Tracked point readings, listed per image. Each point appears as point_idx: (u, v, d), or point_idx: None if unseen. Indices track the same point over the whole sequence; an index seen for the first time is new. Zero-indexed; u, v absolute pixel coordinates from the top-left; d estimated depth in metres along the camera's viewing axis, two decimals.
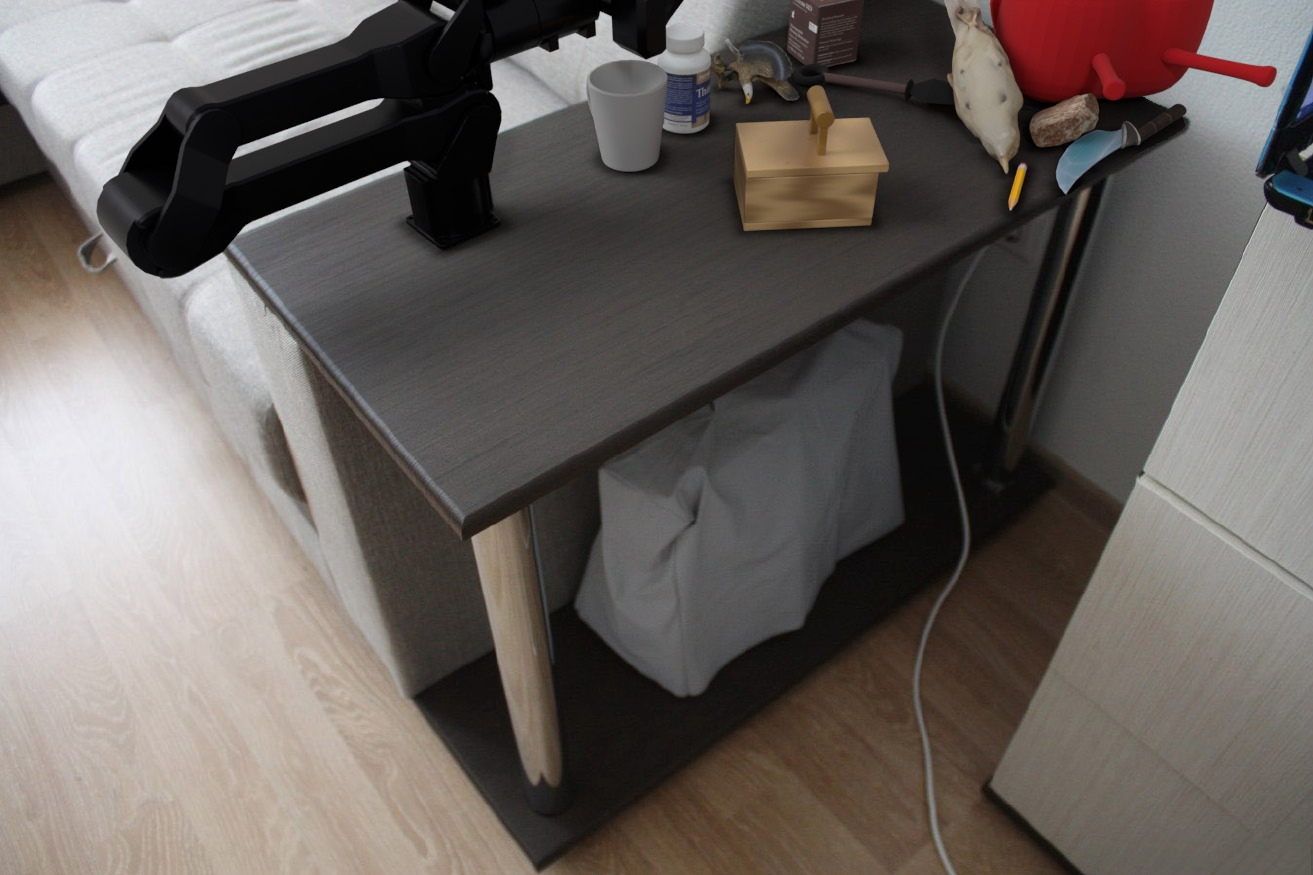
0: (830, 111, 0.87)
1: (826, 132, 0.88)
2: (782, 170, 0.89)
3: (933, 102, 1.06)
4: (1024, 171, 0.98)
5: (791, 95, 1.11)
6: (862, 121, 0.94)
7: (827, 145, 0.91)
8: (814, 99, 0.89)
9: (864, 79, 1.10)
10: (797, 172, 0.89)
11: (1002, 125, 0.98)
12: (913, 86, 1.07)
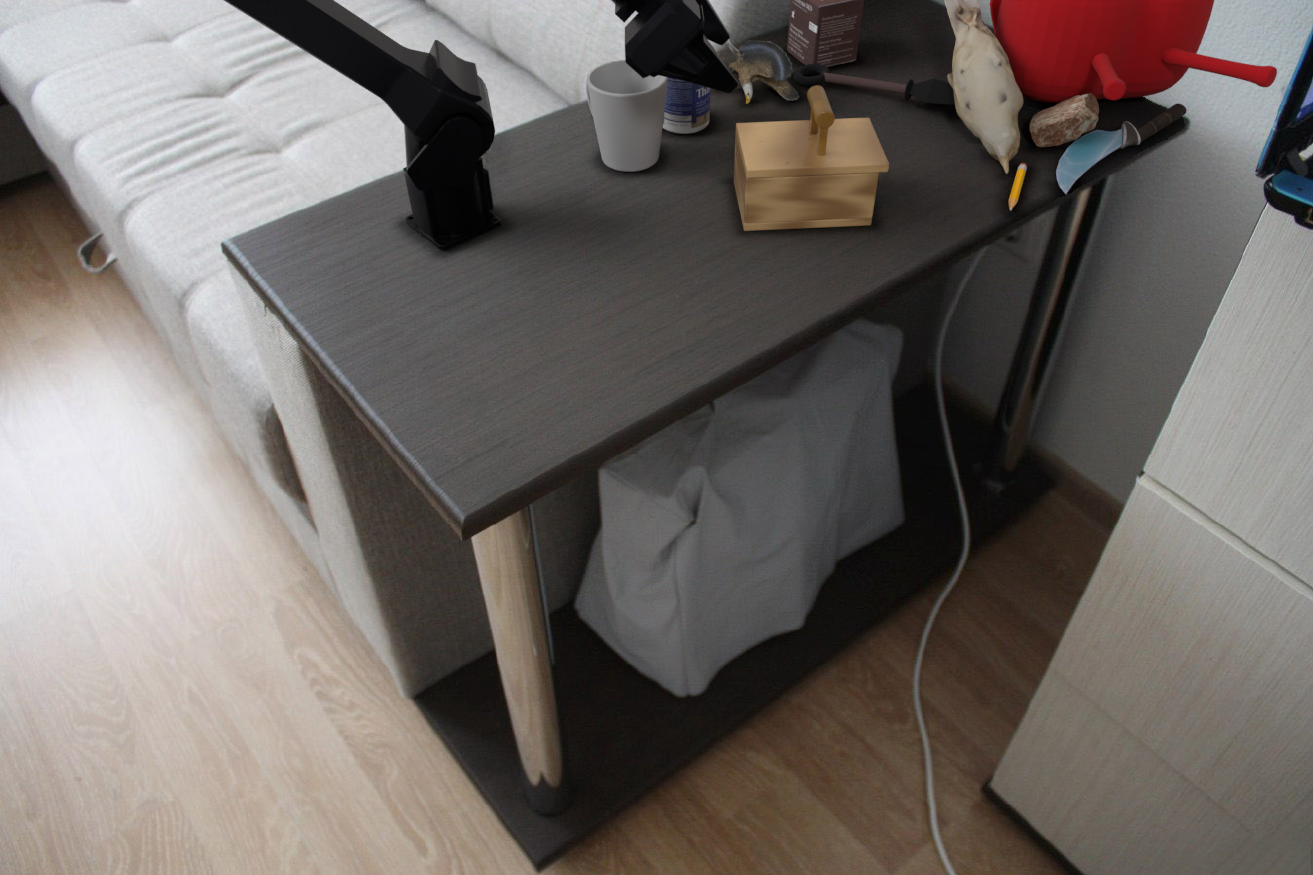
0: (830, 111, 0.87)
1: (826, 132, 0.88)
2: (782, 170, 0.89)
3: (933, 102, 1.06)
4: (1024, 171, 0.98)
5: (791, 95, 1.11)
6: (862, 121, 0.94)
7: (827, 145, 0.91)
8: (814, 99, 0.89)
9: (864, 79, 1.10)
10: (797, 172, 0.89)
11: (1003, 125, 0.98)
12: (913, 86, 1.07)
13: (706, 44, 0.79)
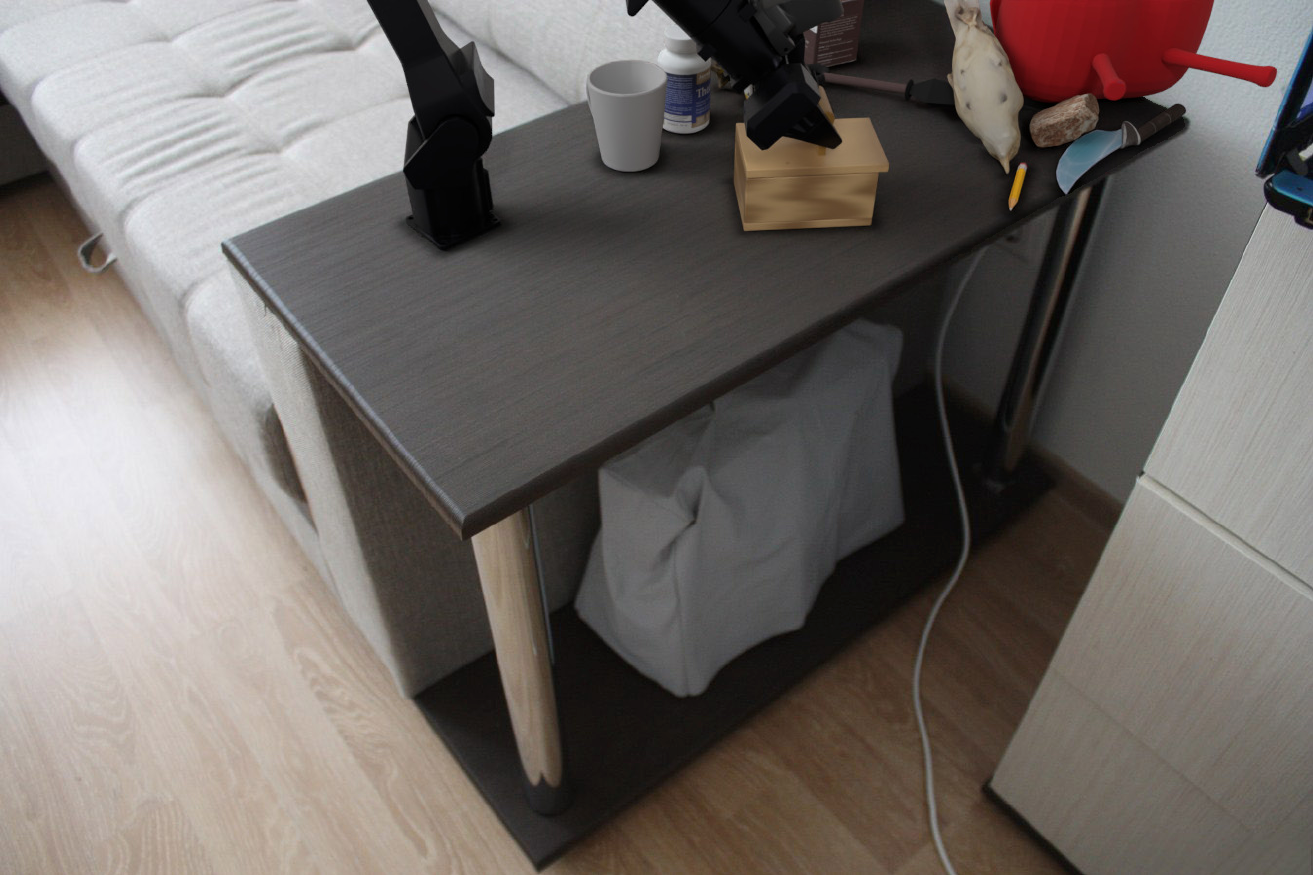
0: (830, 111, 0.87)
1: None
2: (782, 170, 0.89)
3: (933, 102, 1.06)
4: (1024, 171, 0.98)
5: None
6: (862, 121, 0.94)
7: None
8: None
9: (864, 79, 1.10)
10: (797, 172, 0.89)
11: (1003, 125, 0.98)
12: (913, 86, 1.07)
13: (817, 106, 0.85)
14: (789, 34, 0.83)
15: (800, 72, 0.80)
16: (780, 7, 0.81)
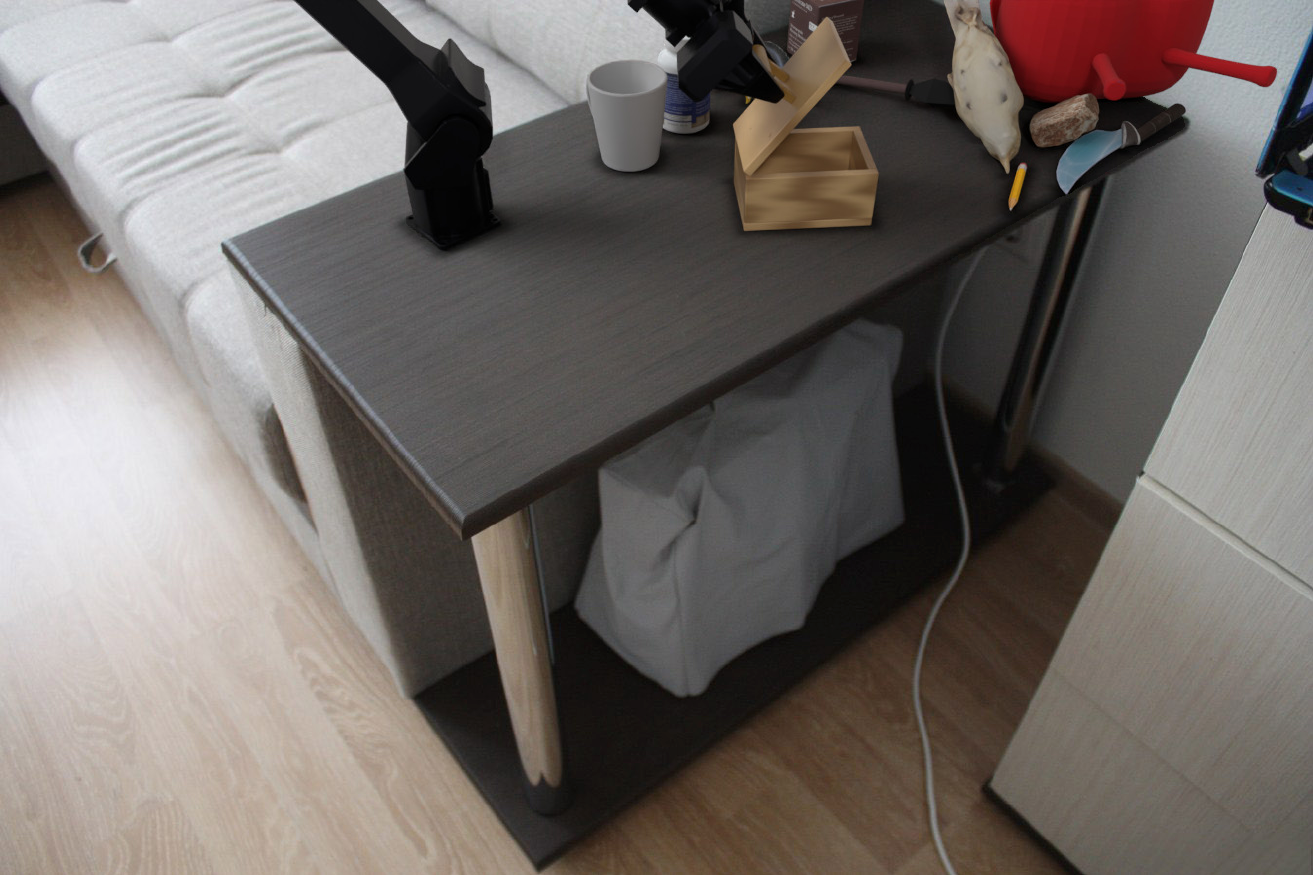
0: None
1: None
2: (768, 146, 0.87)
3: (933, 102, 1.06)
4: (1024, 171, 0.98)
5: None
6: (821, 28, 0.88)
7: (797, 84, 0.87)
8: None
9: (864, 79, 1.10)
10: (781, 136, 0.86)
11: (1003, 125, 0.98)
12: (913, 86, 1.07)
13: (755, 57, 0.81)
14: None
15: (731, 19, 0.77)
16: None
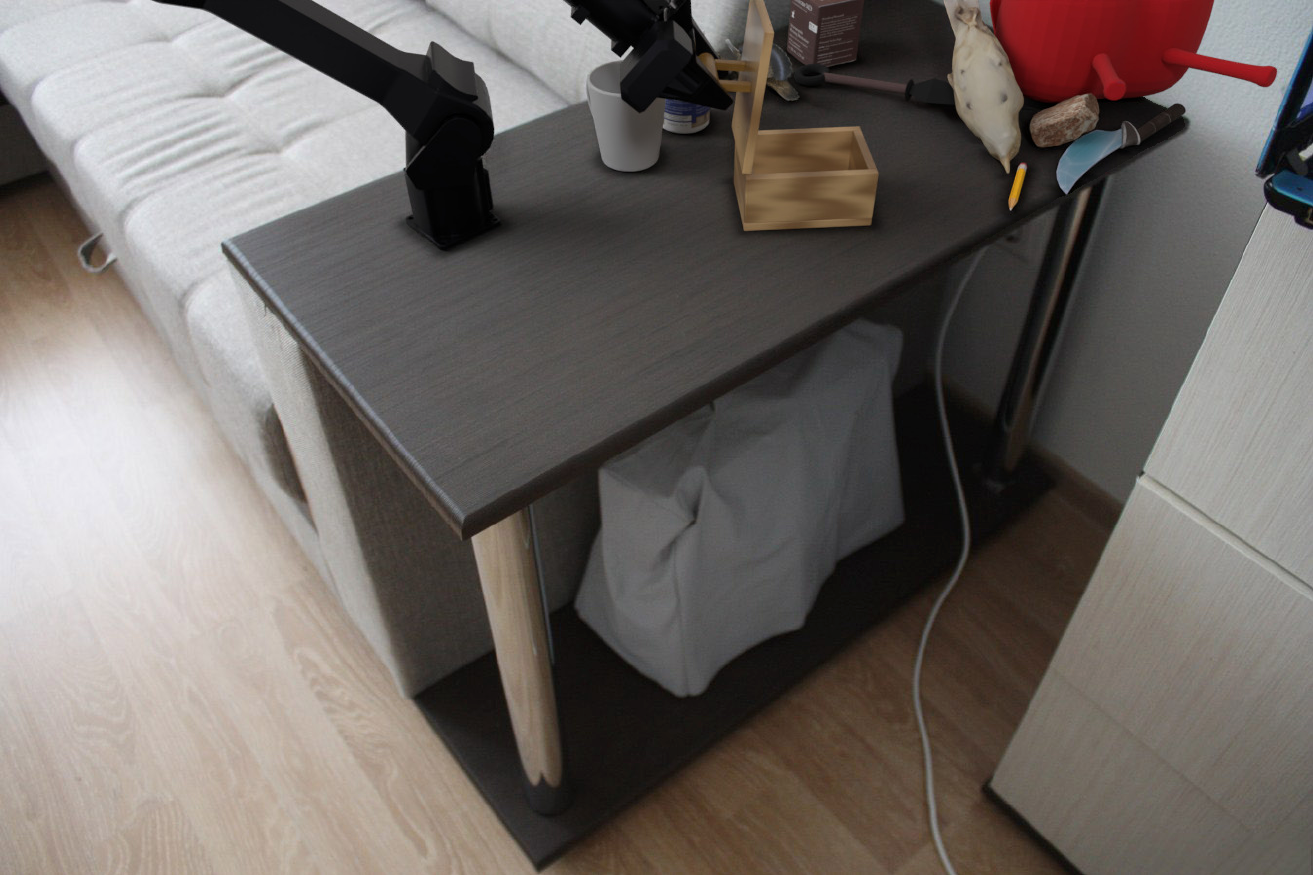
0: None
1: (725, 85, 0.85)
2: (749, 141, 0.87)
3: (933, 102, 1.06)
4: (1024, 171, 0.98)
5: (791, 95, 1.11)
6: (750, 4, 0.86)
7: (749, 70, 0.86)
8: None
9: (864, 79, 1.10)
10: (754, 127, 0.86)
11: (1004, 125, 0.98)
12: (913, 86, 1.07)
13: (699, 65, 0.82)
14: None
15: (670, 29, 0.77)
16: None
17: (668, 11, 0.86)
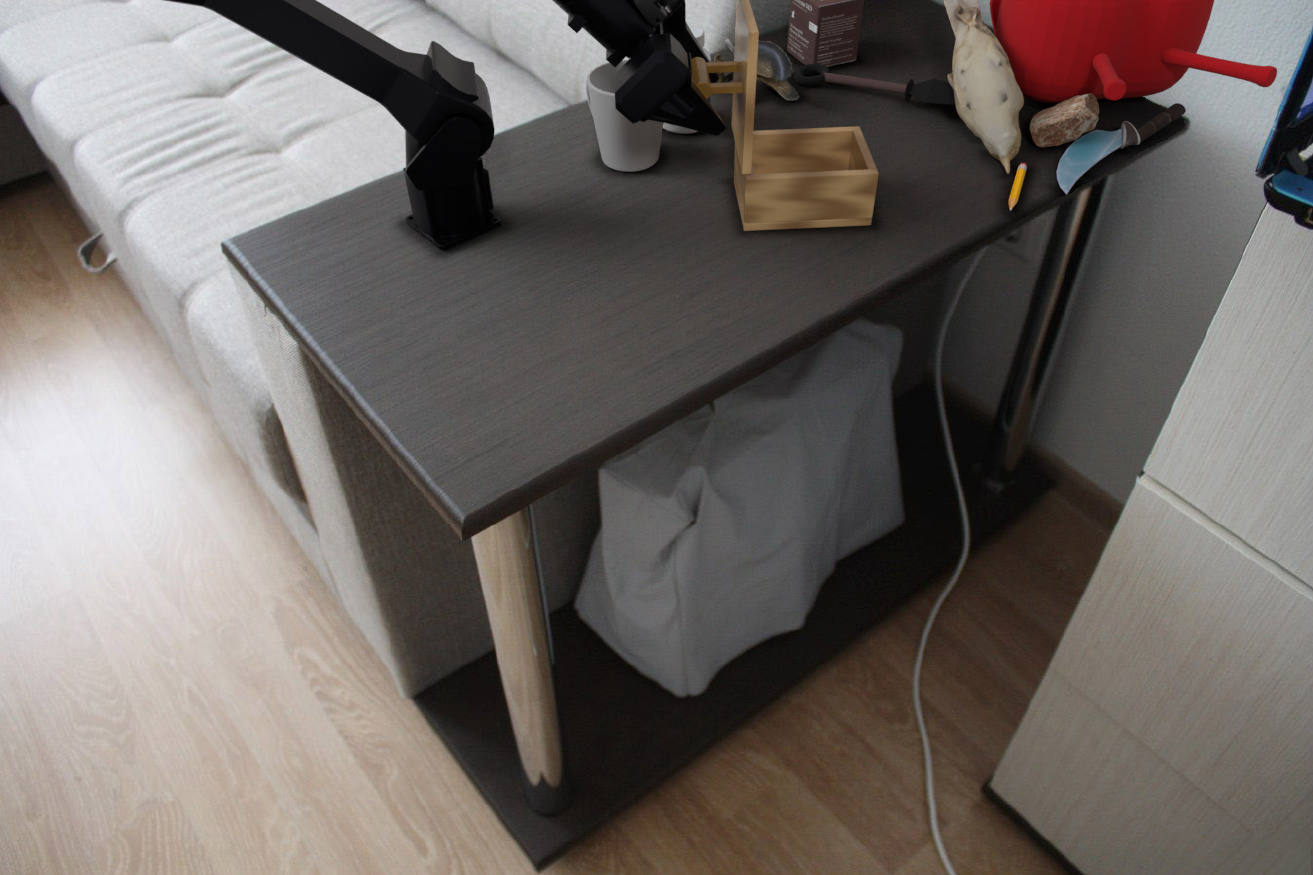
0: None
1: (716, 87, 0.85)
2: (745, 141, 0.86)
3: (933, 102, 1.06)
4: (1024, 171, 0.98)
5: (791, 95, 1.11)
6: (737, 4, 0.86)
7: (740, 70, 0.86)
8: None
9: (864, 79, 1.10)
10: (749, 127, 0.86)
11: (1004, 125, 0.98)
12: (913, 86, 1.07)
13: (694, 90, 0.81)
14: (661, 4, 0.80)
15: (667, 42, 0.78)
16: None
17: None
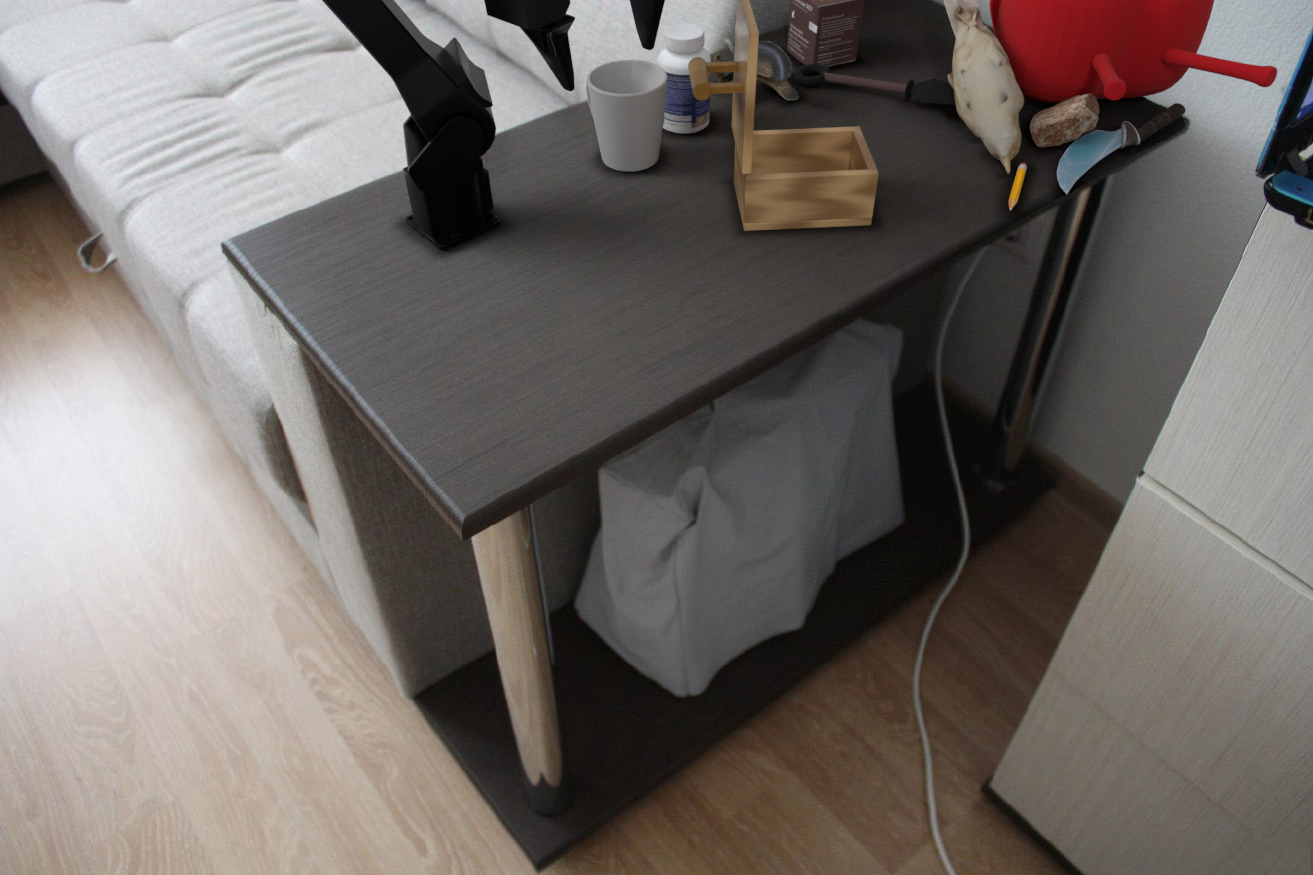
0: (693, 86, 0.85)
1: (716, 87, 0.85)
2: (745, 141, 0.86)
3: (933, 102, 1.06)
4: (1024, 171, 0.98)
5: (791, 95, 1.11)
6: (737, 4, 0.86)
7: (740, 70, 0.86)
8: None
9: (864, 79, 1.10)
10: (749, 127, 0.86)
11: (1004, 125, 0.98)
12: (913, 86, 1.07)
13: (555, 44, 0.80)
14: None
15: None
16: None
17: None
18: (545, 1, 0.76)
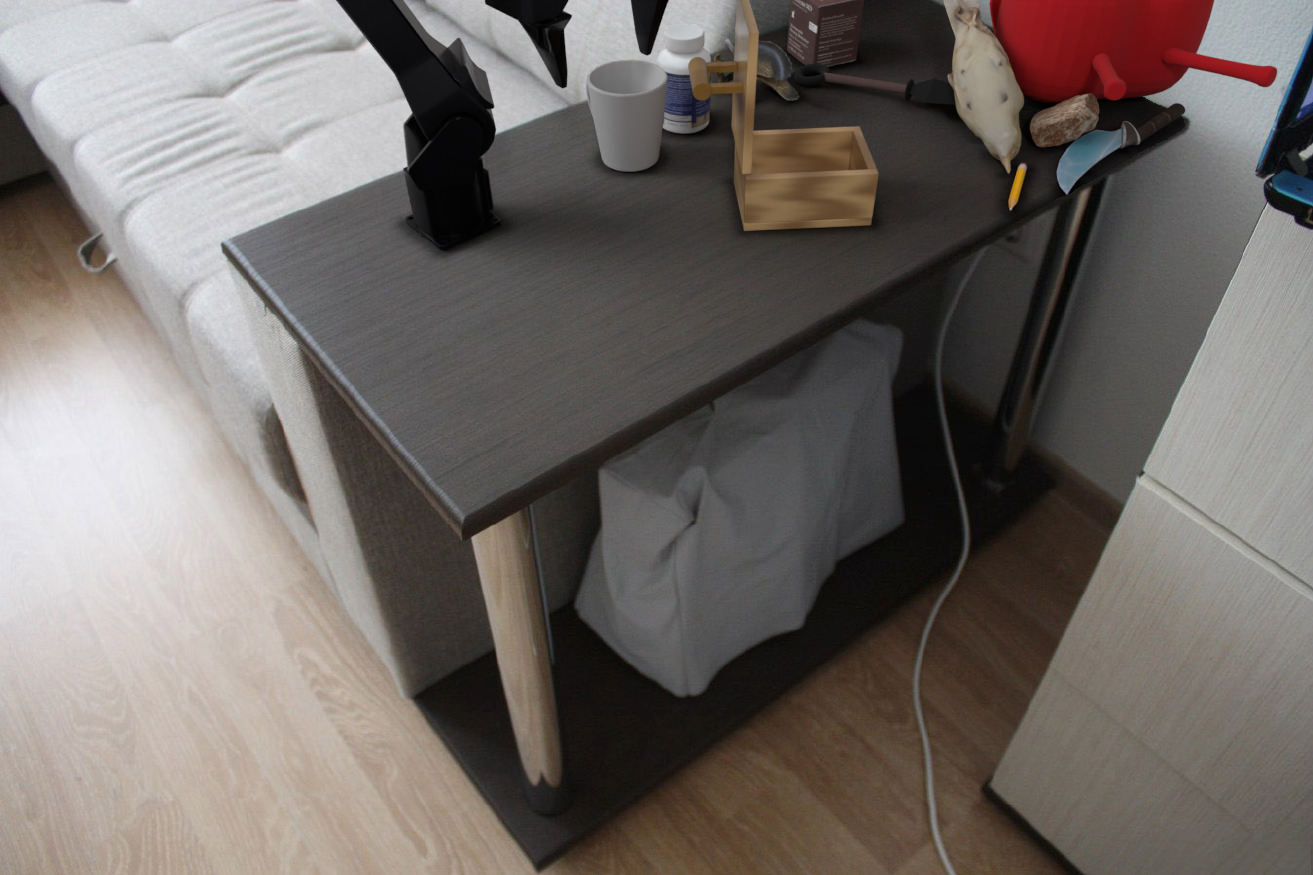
0: (693, 86, 0.85)
1: (716, 87, 0.85)
2: (745, 141, 0.86)
3: (933, 102, 1.06)
4: (1024, 171, 0.98)
5: (791, 95, 1.11)
6: (737, 4, 0.86)
7: (740, 70, 0.86)
8: None
9: (864, 79, 1.10)
10: (749, 127, 0.86)
11: (1004, 125, 0.98)
12: (913, 86, 1.07)
13: (551, 40, 0.80)
14: None
15: None
16: None
17: None
18: None
